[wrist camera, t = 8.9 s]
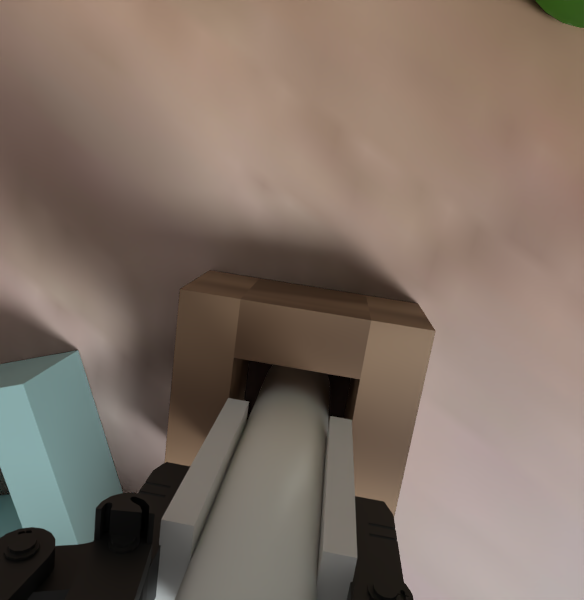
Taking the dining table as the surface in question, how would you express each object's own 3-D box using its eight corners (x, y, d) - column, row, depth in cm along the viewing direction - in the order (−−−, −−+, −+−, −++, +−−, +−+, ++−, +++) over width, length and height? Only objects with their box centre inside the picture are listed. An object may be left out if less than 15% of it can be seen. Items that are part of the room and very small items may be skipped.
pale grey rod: (268, 350, 22) (116, 684, 7) (335, 361, 21) (318, 728, 7) (260, 411, 22) (107, 828, 8) (325, 422, 22) (290, 871, 8)
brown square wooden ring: (209, 270, 21) (179, 289, 17) (417, 303, 20) (435, 331, 17) (191, 454, 23) (160, 507, 19) (378, 489, 23) (386, 551, 19)
